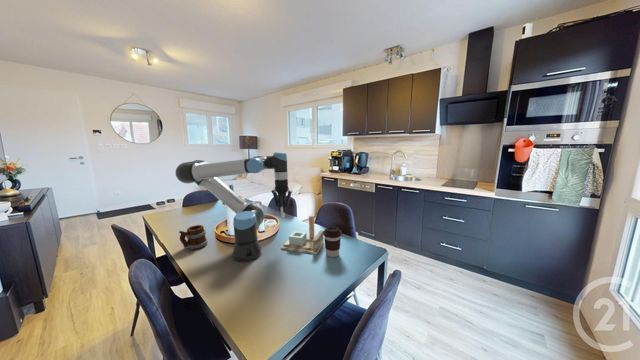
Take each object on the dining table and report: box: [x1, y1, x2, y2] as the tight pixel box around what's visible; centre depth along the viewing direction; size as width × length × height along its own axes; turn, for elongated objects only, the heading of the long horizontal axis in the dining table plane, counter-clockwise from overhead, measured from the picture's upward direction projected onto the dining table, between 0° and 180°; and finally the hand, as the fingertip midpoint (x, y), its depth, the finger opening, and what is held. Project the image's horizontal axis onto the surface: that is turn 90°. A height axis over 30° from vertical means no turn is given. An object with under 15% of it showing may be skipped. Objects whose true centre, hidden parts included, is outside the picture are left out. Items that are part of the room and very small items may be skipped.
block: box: [288, 230, 308, 246], centre depth 131 cm, size 8×8×6 cm
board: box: [280, 229, 325, 255], centre depth 130 cm, size 22×14×8 cm, turn 73°
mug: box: [178, 224, 209, 251], centre depth 130 cm, size 12×14×15 cm
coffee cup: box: [323, 226, 343, 258], centre depth 119 cm, size 10×10×15 cm
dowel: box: [308, 215, 315, 240], centre depth 139 cm, size 3×3×15 cm
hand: (283, 217), depth 131 cm, fingers closed
